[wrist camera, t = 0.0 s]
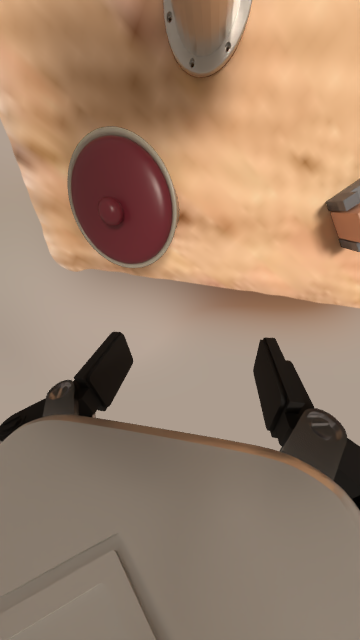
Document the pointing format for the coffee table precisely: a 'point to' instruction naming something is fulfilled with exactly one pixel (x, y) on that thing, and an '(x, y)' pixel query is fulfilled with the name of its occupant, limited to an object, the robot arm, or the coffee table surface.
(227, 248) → the coffee table surface
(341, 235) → the block
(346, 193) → the grey u-shaped bracket
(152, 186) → the canister
